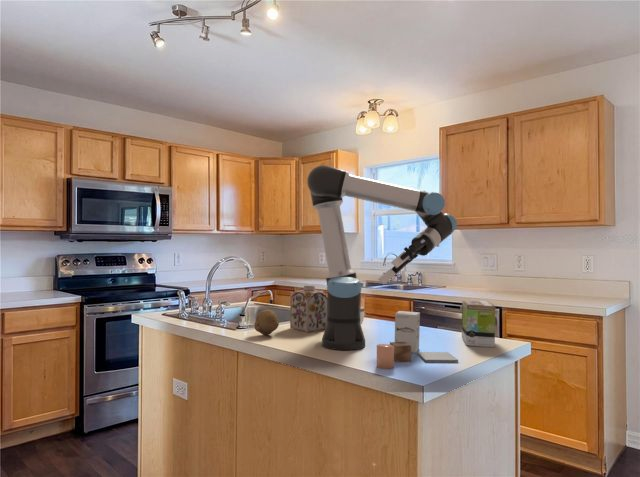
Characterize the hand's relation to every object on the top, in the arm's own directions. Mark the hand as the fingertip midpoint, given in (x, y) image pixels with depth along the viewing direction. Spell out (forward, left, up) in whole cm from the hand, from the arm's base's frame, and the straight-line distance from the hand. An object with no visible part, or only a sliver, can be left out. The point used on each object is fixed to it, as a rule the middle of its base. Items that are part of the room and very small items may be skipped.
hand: (387, 273), depth 153 cm
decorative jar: (-27, +34, -26) cm, 50 cm away
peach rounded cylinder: (-5, -24, -26) cm, 35 cm away
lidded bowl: (-10, +35, -26) cm, 45 cm away
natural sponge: (-43, +19, -26) cm, 53 cm away
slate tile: (+13, -14, -25) cm, 32 cm away
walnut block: (+1, -16, -26) cm, 30 cm away
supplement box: (+6, -3, -26) cm, 27 cm away
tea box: (+35, +10, -26) cm, 45 cm away
